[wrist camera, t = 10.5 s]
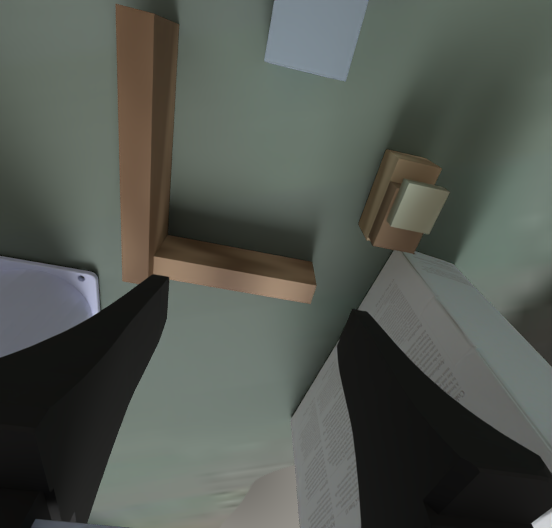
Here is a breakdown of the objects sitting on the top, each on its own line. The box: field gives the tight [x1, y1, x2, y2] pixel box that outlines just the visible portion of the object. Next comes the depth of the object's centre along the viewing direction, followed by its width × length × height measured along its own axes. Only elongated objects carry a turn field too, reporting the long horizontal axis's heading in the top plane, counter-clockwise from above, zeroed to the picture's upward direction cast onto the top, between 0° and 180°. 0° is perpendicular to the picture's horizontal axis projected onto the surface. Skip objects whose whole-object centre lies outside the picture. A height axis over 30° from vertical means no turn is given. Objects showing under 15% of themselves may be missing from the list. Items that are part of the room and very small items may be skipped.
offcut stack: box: [358, 149, 450, 254], centre depth 19 cm, size 2×5×4 cm, turn 168°
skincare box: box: [291, 250, 552, 528], centre depth 22 cm, size 21×5×16 cm, turn 160°
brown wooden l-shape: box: [116, 4, 317, 304], centre depth 19 cm, size 12×14×4 cm
